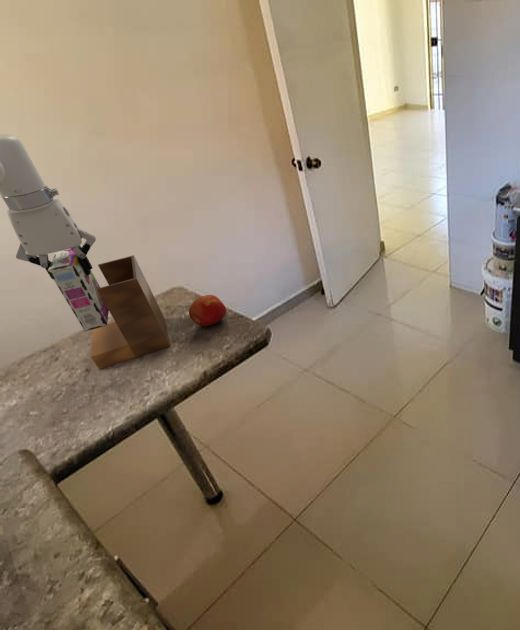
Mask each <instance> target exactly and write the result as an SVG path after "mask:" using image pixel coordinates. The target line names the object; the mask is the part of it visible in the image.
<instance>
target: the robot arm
mask: <svg viewBox="0 0 520 630" xmlns="http://www.w3.org/2000/svg"><path fill="white" fill-rule="evenodd" d="M31 158H32V157H30V155H29V153H28V151H27V149H26V148H25V146H24V144H23V142H22V141H21V140H20V138H19V137H18V136H15V135H13V134H8V133H6V134H5V133H3V134H0V196H1V198H2V200H3V202H4V204H5V205H6V206H7V208H8V209H7V210H6V211H7V216H8V219H9V222H10V224H11V226H12V229H13V230H14V233H15V235H16V237H17V239H18V240H19V242H20V244H19V246H18V249H17V252H16V254H15V258H16V260H20V261H24V262H29V263H31V264H33V265H36V266H39V267H41V268H42V269H45V271H46V272H47V274H48V275H49V278H50V279H51V280H54V279H53V278H52V276H51V274H50V273H49V271H48V269H49V267H50V265H51V262H52V261H51V260H50V258H49V254H53V253H56V252H60V251H64V250H69V249H71V250H72V251H73V252H74V253H76V254H77V255H78V257H79V259H78V261H79V263H80V264H81V266H82V268H83V270H84V271H85V273H86V275H90V274H91V271H92V269H93V265H92V263H91V261H90V259H88V256H87V255H88V253H89V251H90V250H91V248H92V246H93V245H94V243H95V242H96V240H97V237H96V236H95V235H93V234H91V233H89V232H88V231H85V230H83V229H81V228H79V226H78V224H77V223H76V221H75V220H74V219H73V217H72V215H71V213H70V212H69V211H68V209H67V208H66V207H65V206H64V204H63V203H62V202H61V200H59V199H58V198H55V197H56V196H60V193H59V190H58V188H50V187H48V185H46V183H45V181H44V180H43V178H42V176H41V174H40V172H39V171H38V169H37V167H36V166H35V163H34V162H33V160H32V159H31ZM54 198H55V199H54ZM82 239H84V240H86V241H85V242H84V243H83V241H82ZM82 243H83V245H82ZM81 245H82V246H81Z"/></svg>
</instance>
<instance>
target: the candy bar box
mask: <svg viewBox="0 0 520 630" xmlns="http://www.w3.org/2000/svg"><path fill="white" fill-rule="evenodd" d="M54 253H55V254H54V256H53V258H52V261H51V265H50V267H49V269H48V271H49V273H50V274H51V276H52V278H53V279H52V278H51V279H52V280H53V281H54V283H55V284H56V286H57V288H58V289H59V291H60V293H61V295H62V297H63V298H64V299H65V301H66V302H67V304H68V306H69V308H70V309H71V311H72V312H73V314H74V316H75V318H76V319H77V321H78V322H79V324H80V326H81V327H82V329H83V331H84V332H88V331H93V329H96V328H100V327H103V326H106V325H107V324H108V322H109V314H110V312H109V310H108V308H107V306H106V305H105V303H104V301H103V299H102V298H101V296H100V294H99V292H98V291H97V288H101V287H100V284H99V283H98V281H97V279H96V277H95V275H94V273H93V271H92V270H91V274H90V275H86V273H85V271H84V270H83V268H82V266H81V264H80V263H79V261H78V259H79V257H78V255H77V254H76V253H74V252H73V251H72V250H71V249H66V250H62V251H57V252H54Z"/></svg>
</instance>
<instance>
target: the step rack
mask: <svg viewBox="0 0 520 630" xmlns="http://www.w3.org/2000/svg"><path fill="white" fill-rule="evenodd" d="M97 266H98V268H99V270H100V272H101V273H102V276H103V277H104V279H105V281H106V283H107V285H105V286H101V287H100V288H97V291H98V292H99V294H100V296H101V298H102V299H103V301H104V303H105V305H106V306H107V308H108V310H109V314H110V315H111V317H112V319H113V321H114V322H110V323H107V325H106V326H103V327H100V328H96V329H92V331H91V332H92V333H91V335H92V336H91V351H90V353H91V354H90V357H91V359H92V360H93V362H94V363H95V365H96V367H97V368H98V370H103V369H105V368H108V367H110V366H113V365H116V364H119V363H122V362H125V361H128V360H132V359H134V358H136V359H137V358H140V357H144V356H146V355H149V354H152V353H155V352H158V351H161V350H164V349H167V348H169V347H170V348H171V341H170V337H169V332H168V328H167V322H166V318H165V316H164V313H163V312H162V310H161V307H160V306H159V304H158V302H157V300H156V298H155V295H154V293H153V291H152V289H151V287H150V286H149V283H148V282H147V279H146V277H145V275H144V273H143V271H142V268H141V267H140V265H139V263H138V260H137V259H136V256H135V255H129V256H125V257H122V258H118V259H114V260H110V261H106V262H102V263H98V264H97Z"/></svg>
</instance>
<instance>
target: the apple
mask: <svg viewBox="0 0 520 630" xmlns="http://www.w3.org/2000/svg"><path fill="white" fill-rule="evenodd" d="M226 314H227V308H226V305H225V304H224V303H223V301H222V300H221V299H220V298H218V297H217V296H216V295H214V294H205V295H203V296H199V297H198V298H196V299H195V300H194V301H193V302H192V303H191V304H190V306H189V308H188V315H189V318H190V319H191V321H193V323H195V324H196V325H198V326H201V327H209V326H213V325H215V324H218V323H219V322H221V321H222V320H223V319H224V317H225V316H226Z"/></svg>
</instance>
